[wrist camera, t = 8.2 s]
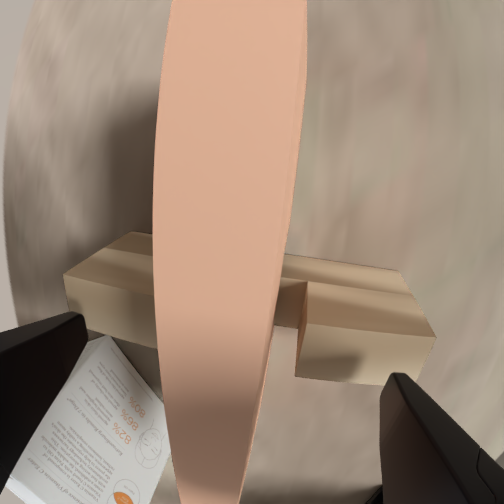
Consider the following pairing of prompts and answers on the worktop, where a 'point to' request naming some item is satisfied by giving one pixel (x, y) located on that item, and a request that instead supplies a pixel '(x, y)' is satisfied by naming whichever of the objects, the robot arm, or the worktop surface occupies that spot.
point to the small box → (96, 437)
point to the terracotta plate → (222, 224)
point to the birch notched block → (287, 311)
